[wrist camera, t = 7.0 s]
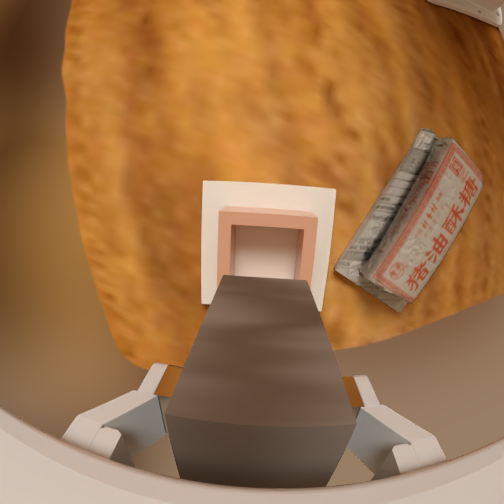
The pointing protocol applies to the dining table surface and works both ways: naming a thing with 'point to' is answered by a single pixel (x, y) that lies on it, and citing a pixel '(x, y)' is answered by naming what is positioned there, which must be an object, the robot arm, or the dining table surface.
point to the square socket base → (266, 233)
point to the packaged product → (413, 221)
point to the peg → (260, 391)
